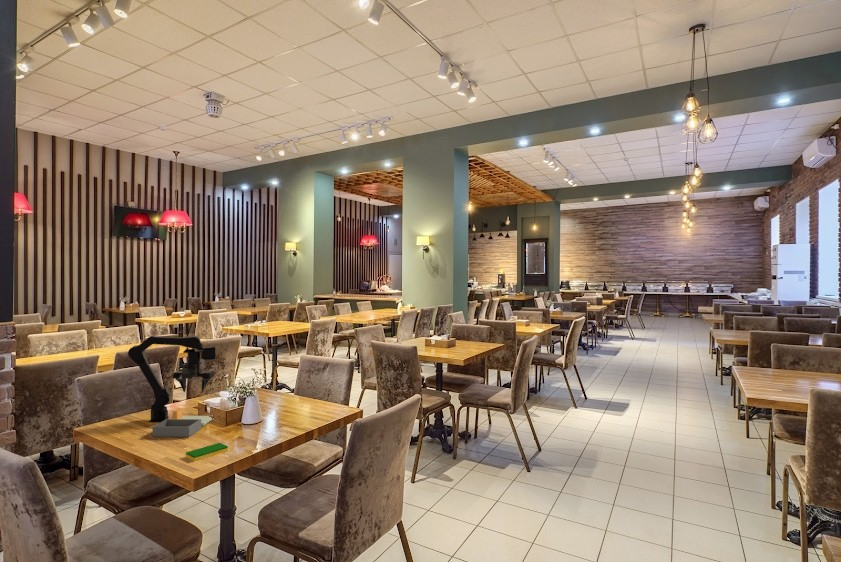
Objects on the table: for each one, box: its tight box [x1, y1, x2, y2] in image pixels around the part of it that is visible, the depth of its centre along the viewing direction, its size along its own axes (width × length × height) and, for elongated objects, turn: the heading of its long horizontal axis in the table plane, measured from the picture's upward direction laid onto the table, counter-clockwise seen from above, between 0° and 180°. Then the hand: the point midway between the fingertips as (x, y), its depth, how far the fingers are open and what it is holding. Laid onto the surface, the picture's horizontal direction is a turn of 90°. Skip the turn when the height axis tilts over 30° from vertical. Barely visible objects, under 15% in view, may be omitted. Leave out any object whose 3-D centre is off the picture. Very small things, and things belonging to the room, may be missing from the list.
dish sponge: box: [185, 442, 229, 462], centre depth 179 cm, size 7×14×2 cm, turn 142°
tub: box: [152, 418, 202, 438], centre depth 203 cm, size 16×11×4 cm
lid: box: [172, 407, 213, 427], centre depth 217 cm, size 16×11×6 cm
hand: (193, 391), depth 227 cm, fingers open, 9 cm apart
